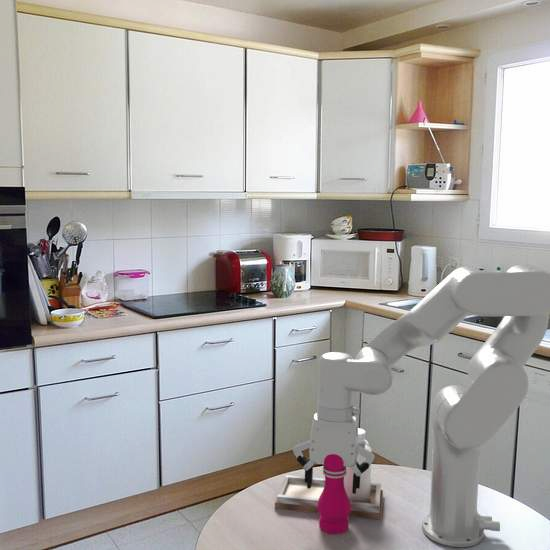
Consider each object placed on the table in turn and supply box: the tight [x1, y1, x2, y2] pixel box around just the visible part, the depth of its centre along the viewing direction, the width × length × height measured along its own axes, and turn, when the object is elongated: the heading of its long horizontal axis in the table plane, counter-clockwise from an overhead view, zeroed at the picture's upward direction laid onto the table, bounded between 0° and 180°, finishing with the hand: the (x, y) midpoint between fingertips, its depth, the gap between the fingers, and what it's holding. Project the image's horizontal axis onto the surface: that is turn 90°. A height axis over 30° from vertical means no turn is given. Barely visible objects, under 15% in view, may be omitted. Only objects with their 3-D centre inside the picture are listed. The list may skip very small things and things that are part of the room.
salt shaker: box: [344, 439, 372, 503], centre depth 144 cm, size 7×7×14 cm
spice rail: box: [274, 474, 384, 520], centre depth 146 cm, size 24×11×3 cm, turn 79°
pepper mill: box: [317, 454, 351, 535], centre depth 134 cm, size 7×7×20 cm
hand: (332, 488), depth 135 cm, fingers open, 9 cm apart
